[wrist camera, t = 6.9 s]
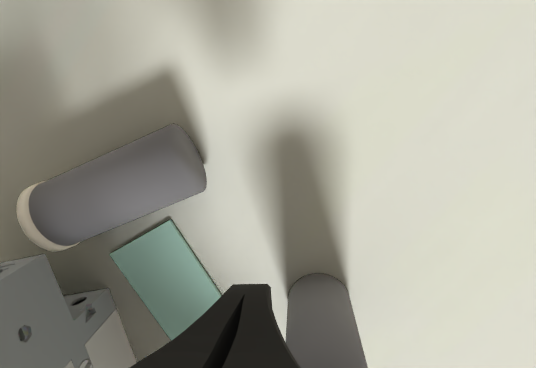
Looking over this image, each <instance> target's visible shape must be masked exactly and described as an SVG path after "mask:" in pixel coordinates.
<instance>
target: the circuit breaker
mask: <svg viewBox="0 0 536 368" xmlns="http://www.w3.org/2000/svg"><path fill="white" fill-rule="evenodd" d="M136 363H137V361H136V359H135V356H134V353H133V351H132V348H131V345H130V343H129V340H128V338H127V335H126V332H125V330H124V327H123V324H122V322H121V319H120V316H119V314H118V311H117V309H116V306H115V303H114V301H113V298H112V295H111V293H110V290H109V289H108V288H106V289H101V290H95V291H90V292H84V293H79V294H73V295H68V296H63V295H62V292H61V290H60V287H59V285H58V283H57V280H56V278H55V276H54V273H53V271H52V268H51V266H50V264H49V261H48V259H47V256H46V255H45V254H41V255H36V256H32V257H27V258H22V259H17V260H12V261H7V262H2V263H0V368H129V367H131V366H133V365H134V364H136Z"/></svg>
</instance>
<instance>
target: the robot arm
mask: <svg viewBox="0 0 536 368" xmlns="http://www.w3.org/2000/svg"><path fill="white" fill-rule="evenodd" d="M129 368H301V367H300V366H299V365H298V363H297V362H296V360H295V358H294V357H293V355H292V354H291V352H290V350H289V348H288V346H287V345H286V343H285V341H284V339H283V337H282V334H281V332H280V330H279V327H278V325H277V322H276V320H275V316H274V313H273V310H272V300H271V287H270V286H269V285H268V284H237V285H232V286H231V287H230V288H229V289H228V290H227V291H226V292H225V293H224V294H223V295H222V296H221V297H220V298H219V299H218V300H217V301H216V302H215V303H214V304H213V305H212V306H211V307H210V308H209V309H208V310H207V311H206V312H205V313H204V314H203V315H202V316H201V317H200V318H198V319H197V320H196V321H195V322H194V323H193V324H191V325H190V326H189V327H188V328H187V329H186V330H185V331H183V332H182V333H181V334H180V335H178V336H177V337H176V338H174V339H173V340H172V341H170V342H169V343H167V344H166V345H165V346H163V347H162V348H160V349H159V350H157V351H156V352H154V353H152V354H151V355H149V356H148V357H146V358H144V359H143V360H141V361H139V362H138V363H136V364H134V365H133V366H131V367H129Z"/></svg>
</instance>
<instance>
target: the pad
mask: <svg viewBox="0 0 536 368" xmlns="http://www.w3.org/2000/svg"><path fill="white" fill-rule="evenodd" d="M109 255H110V256H111V258H112V259H113V261H114V262H115V263H116V265H117V266H118V268H119V269H120V270H121V272H122V273H123V275H124V276H125V277H126V279H127V280H128V281H129V283H130V284H131V286H132V287H133V288H134V290H135V291H136V293H137V294H138V295H139V297H140V298H141V300H142V301H143V302H144V304H145V305H146V306H147V308H148V309H149V311H150V312H151V313H152V315H153V316H154V318H155V319H156V320H157V322H158V323H159V325H160V326H161V327H162V329H163V330H164V331H165V333H166V334H167V336H168V337H169V338H170V340H171V341H172V340H173V339H174V338H176V337H177V336H178V335H180V334H181V333H182V332H183V331H185V330H186V329H187V328H188V327H189V326H190V325H191V324H193V323H194V322H195V321H196V320H197V319H198V318H200V317H201V316H202V315H203V314H204V313H205V312H206V311H207V310H208V309H209V308H210V307H211V306H212V305H213V304H214V303H215V302H216V301H217V300H218V299H219V298H220V297H221V296H222V295H221V294H220V292H219V291H218V289H217V288H216V286H215V285H214V283H213V282H212V280H211V279H210V277H209V276H208V274H207V273H206V271H205V270H204V268H203V267H202V265H201V264H200V262H199V261H198V259H197V258H196V256H195V255H194V253H193V252H192V250H191V249H190V247H189V246H188V244H187V243H186V241H185V240H184V238H183V237H182V235H181V234H180V232H179V231H178V229H177V228H176V226H175V225H174V223H173V222H172V220H171V219H170V220H169V221H167V222H165V223H163V224H161V225H160V226H158V227H156V228H154V229H153V230H151V231H149V232H147V233H146V234H144V235H142V236H140V237H139V238H137V239H135V240H133V241H132V242H130V243H128V244H126V245H125V246H123V247H121V248H119V249H118V250H116V251H114V252H112V253H111V254H109Z"/></svg>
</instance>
